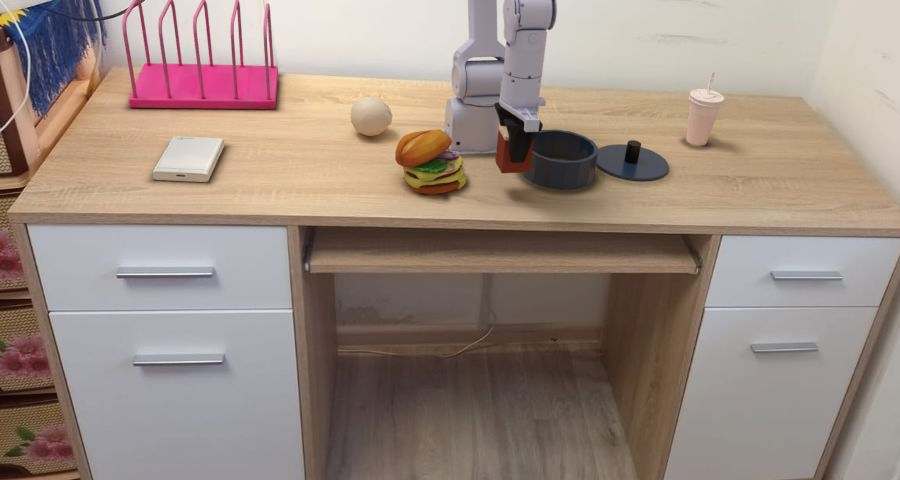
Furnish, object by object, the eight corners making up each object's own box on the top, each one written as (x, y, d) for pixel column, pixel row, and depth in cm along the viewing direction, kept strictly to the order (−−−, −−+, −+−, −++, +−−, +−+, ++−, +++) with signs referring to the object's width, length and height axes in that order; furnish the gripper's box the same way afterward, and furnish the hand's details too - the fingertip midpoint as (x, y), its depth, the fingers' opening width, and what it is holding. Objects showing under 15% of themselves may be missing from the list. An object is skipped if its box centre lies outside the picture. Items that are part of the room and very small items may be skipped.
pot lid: (608, 185, 139) (612, 161, 137) (582, 150, 150) (586, 127, 147) (679, 182, 143) (685, 159, 140) (649, 148, 153) (654, 126, 151)
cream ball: (394, 141, 146) (395, 105, 142) (352, 142, 144) (352, 106, 140) (389, 125, 151) (390, 90, 147) (348, 126, 149) (348, 90, 146)
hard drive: (172, 135, 137) (151, 170, 126) (223, 138, 137) (207, 172, 127) (174, 144, 137) (153, 180, 127) (224, 147, 138) (208, 182, 128)
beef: (501, 173, 129) (505, 136, 125) (495, 161, 132) (498, 125, 128) (529, 172, 130) (534, 136, 126) (522, 160, 133) (527, 125, 130)
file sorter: (145, 72, 161) (133, -10, 152) (278, 74, 166) (273, -5, 158) (129, 108, 147) (114, 20, 138) (275, 110, 152) (269, 25, 144)
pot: (532, 194, 134) (536, 163, 131) (511, 159, 144) (515, 130, 141) (603, 190, 138) (608, 161, 134) (578, 157, 147) (583, 128, 144)
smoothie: (716, 141, 158) (734, 71, 151) (708, 154, 153) (726, 82, 146) (683, 133, 160) (699, 63, 152) (674, 145, 155) (691, 73, 148)
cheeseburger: (459, 203, 129) (447, 144, 124) (395, 205, 132) (381, 148, 127) (474, 173, 138) (463, 117, 132) (413, 176, 140) (400, 122, 135)
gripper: (563, 90, 117) (551, 175, 125) (534, 54, 129) (525, 134, 136) (516, 91, 116) (506, 177, 123) (490, 54, 127) (483, 135, 135)
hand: (513, 155), depth 130 cm, fingers closed on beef, 4 cm apart
